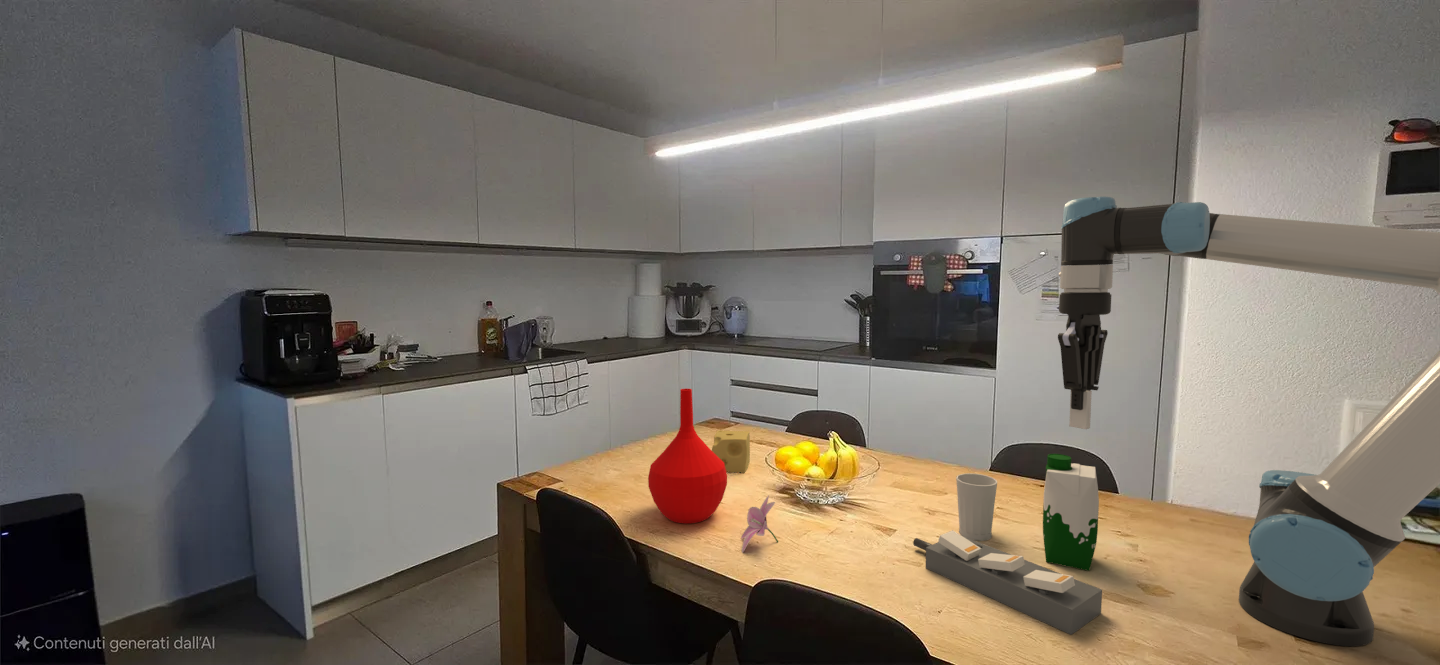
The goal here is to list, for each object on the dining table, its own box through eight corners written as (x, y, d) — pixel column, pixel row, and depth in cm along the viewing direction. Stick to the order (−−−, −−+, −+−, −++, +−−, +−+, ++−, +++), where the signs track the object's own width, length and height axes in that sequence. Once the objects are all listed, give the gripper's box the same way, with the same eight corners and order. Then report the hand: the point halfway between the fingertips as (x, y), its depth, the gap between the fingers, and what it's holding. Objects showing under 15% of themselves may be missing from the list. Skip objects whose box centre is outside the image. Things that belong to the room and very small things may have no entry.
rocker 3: (1075, 585, 94) (1073, 575, 94) (1062, 592, 91) (1060, 583, 91) (1037, 578, 99) (1035, 569, 99) (1024, 585, 96) (1023, 576, 96)
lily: (754, 531, 131) (733, 497, 129) (801, 518, 126) (780, 483, 124) (741, 571, 120) (718, 535, 118) (792, 560, 115) (769, 522, 113)
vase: (681, 539, 125) (678, 401, 122) (633, 514, 138) (630, 389, 136) (744, 516, 137) (742, 389, 134) (694, 495, 150) (692, 380, 148)
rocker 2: (1025, 564, 100) (1022, 555, 100) (1012, 571, 98) (1010, 562, 98) (992, 561, 105) (990, 552, 105) (979, 567, 103) (977, 558, 103)
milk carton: (1043, 545, 120) (1046, 449, 118) (1095, 555, 115) (1100, 455, 113) (1040, 563, 112) (1043, 460, 111) (1096, 575, 108) (1101, 468, 106)
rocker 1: (979, 554, 107) (981, 547, 107) (966, 561, 105) (968, 554, 104) (951, 536, 112) (952, 529, 111) (938, 542, 110) (939, 535, 109)
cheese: (711, 472, 168) (710, 438, 167) (717, 461, 179) (717, 428, 178) (747, 474, 167) (746, 439, 166) (751, 462, 177) (751, 429, 176)
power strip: (1101, 613, 95) (1102, 586, 95) (1071, 634, 90) (1072, 606, 89) (931, 542, 122) (931, 521, 121) (899, 555, 116) (899, 533, 116)
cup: (1000, 543, 121) (1001, 486, 120) (958, 540, 122) (960, 484, 121) (990, 527, 128) (992, 474, 127) (951, 525, 130) (953, 472, 129)
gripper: (1079, 290, 107) (1074, 417, 109) (1042, 291, 99) (1038, 428, 101) (1126, 290, 100) (1120, 425, 103) (1091, 291, 93) (1085, 437, 95)
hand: (1079, 427), depth 102 cm, fingers closed
